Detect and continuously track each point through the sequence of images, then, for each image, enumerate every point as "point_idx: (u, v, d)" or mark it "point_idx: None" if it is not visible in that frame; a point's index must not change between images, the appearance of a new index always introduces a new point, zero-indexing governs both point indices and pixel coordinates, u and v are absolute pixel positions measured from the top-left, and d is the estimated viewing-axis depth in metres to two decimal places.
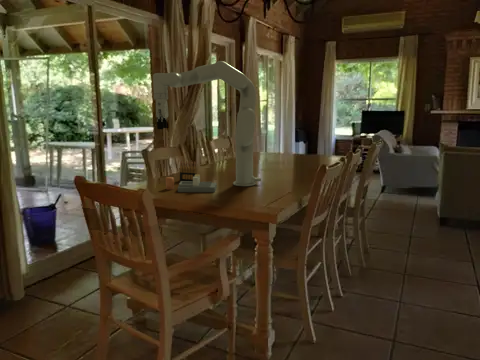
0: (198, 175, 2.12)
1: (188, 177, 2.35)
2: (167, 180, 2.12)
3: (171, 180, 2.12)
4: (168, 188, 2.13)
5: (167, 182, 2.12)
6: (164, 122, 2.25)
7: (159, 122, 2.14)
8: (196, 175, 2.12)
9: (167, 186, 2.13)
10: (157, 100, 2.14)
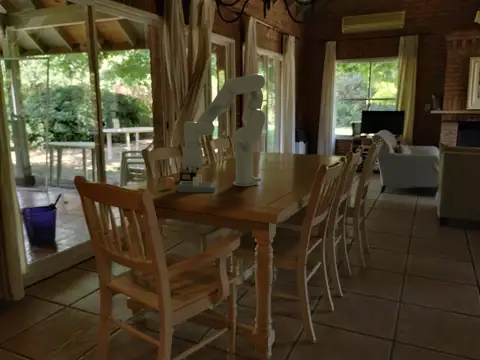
0: (200, 175, 2.12)
1: (188, 177, 2.35)
2: (167, 180, 2.12)
3: (171, 180, 2.12)
4: (168, 188, 2.13)
5: (167, 182, 2.12)
6: None
7: (195, 172, 2.13)
8: (198, 175, 2.12)
9: (167, 186, 2.13)
10: (200, 149, 2.10)
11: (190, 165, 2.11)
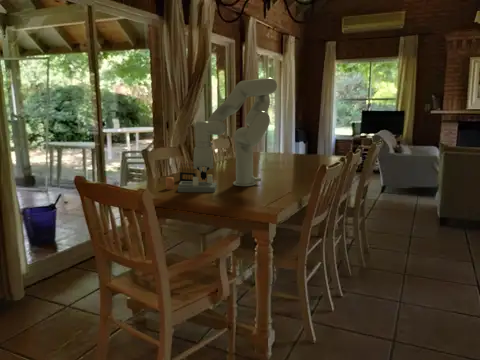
0: (211, 175, 2.12)
1: (188, 177, 2.35)
2: (167, 180, 2.12)
3: (171, 180, 2.12)
4: (168, 188, 2.13)
5: (167, 182, 2.12)
6: None
7: None
8: (209, 175, 2.12)
9: (167, 186, 2.13)
10: (210, 148, 2.10)
11: (201, 165, 2.11)
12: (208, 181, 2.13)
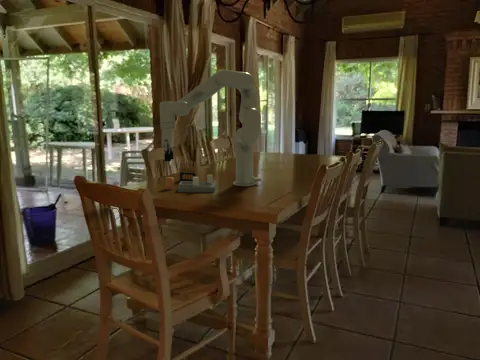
0: (211, 175, 2.12)
1: (188, 177, 2.35)
2: (167, 180, 2.12)
3: (171, 180, 2.12)
4: (168, 188, 2.13)
5: (167, 182, 2.12)
6: None
7: None
8: (209, 175, 2.12)
9: (167, 186, 2.13)
10: None
11: (172, 146, 2.10)
12: (208, 181, 2.13)
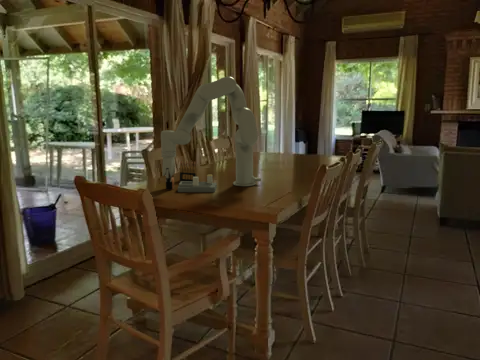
0: (211, 175, 2.12)
1: (188, 177, 2.35)
2: None
3: (171, 180, 2.12)
4: None
5: None
6: None
7: None
8: (209, 175, 2.12)
9: None
10: None
11: (173, 173, 2.13)
12: (208, 181, 2.13)
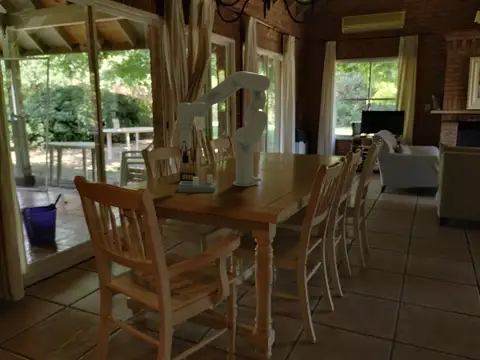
0: (211, 175, 2.12)
1: (188, 177, 2.35)
2: None
3: None
4: None
5: None
6: None
7: None
8: (209, 175, 2.12)
9: None
10: None
11: (189, 147, 2.08)
12: (208, 181, 2.13)
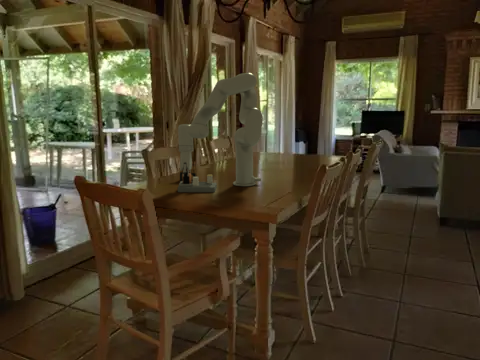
0: (211, 175, 2.12)
1: None
2: None
3: None
4: None
5: None
6: None
7: None
8: (209, 175, 2.12)
9: None
10: None
11: (190, 168, 2.10)
12: (208, 181, 2.13)
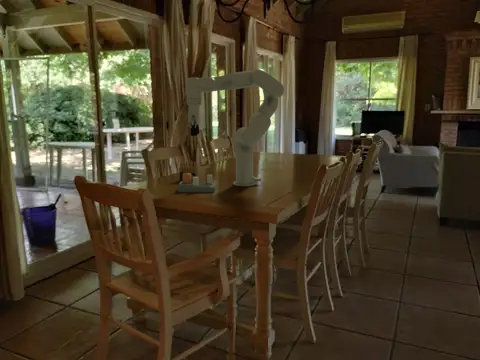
0: (211, 175, 2.12)
1: None
2: (184, 176, 2.10)
3: (188, 176, 2.10)
4: None
5: (184, 178, 2.10)
6: None
7: None
8: (209, 175, 2.12)
9: (184, 182, 2.10)
10: None
11: (198, 122, 2.11)
12: (208, 181, 2.13)
